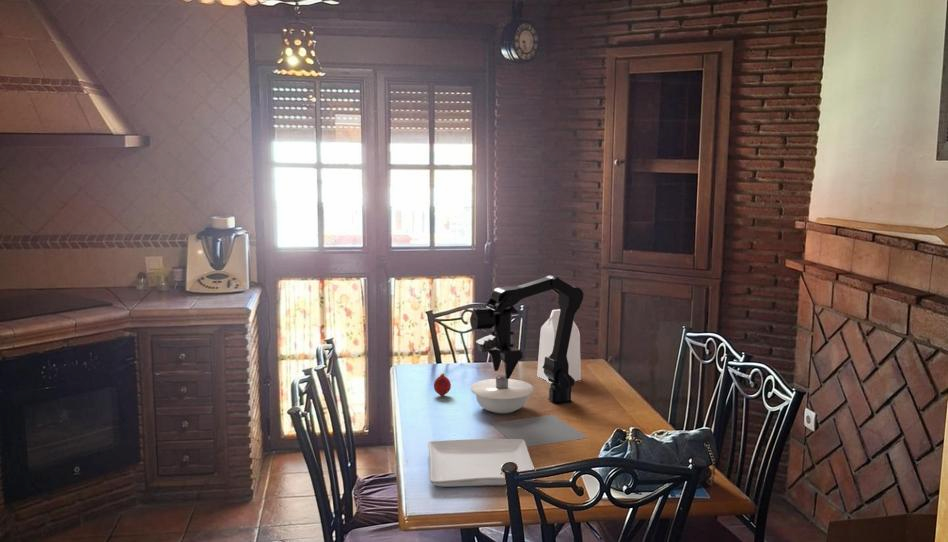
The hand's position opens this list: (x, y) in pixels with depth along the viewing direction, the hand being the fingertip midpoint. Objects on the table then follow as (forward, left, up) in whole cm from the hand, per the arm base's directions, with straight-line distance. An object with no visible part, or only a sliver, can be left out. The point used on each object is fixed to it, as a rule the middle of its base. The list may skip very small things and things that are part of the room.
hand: (501, 374), depth 264 cm
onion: (+13, -21, -12) cm, 27 cm away
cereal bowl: (0, 0, -12) cm, 12 cm away
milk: (-34, -25, -12) cm, 44 cm away
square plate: (+25, +42, -13) cm, 50 cm away
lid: (0, 0, -5) cm, 5 cm away
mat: (-2, +22, -12) cm, 25 cm away
